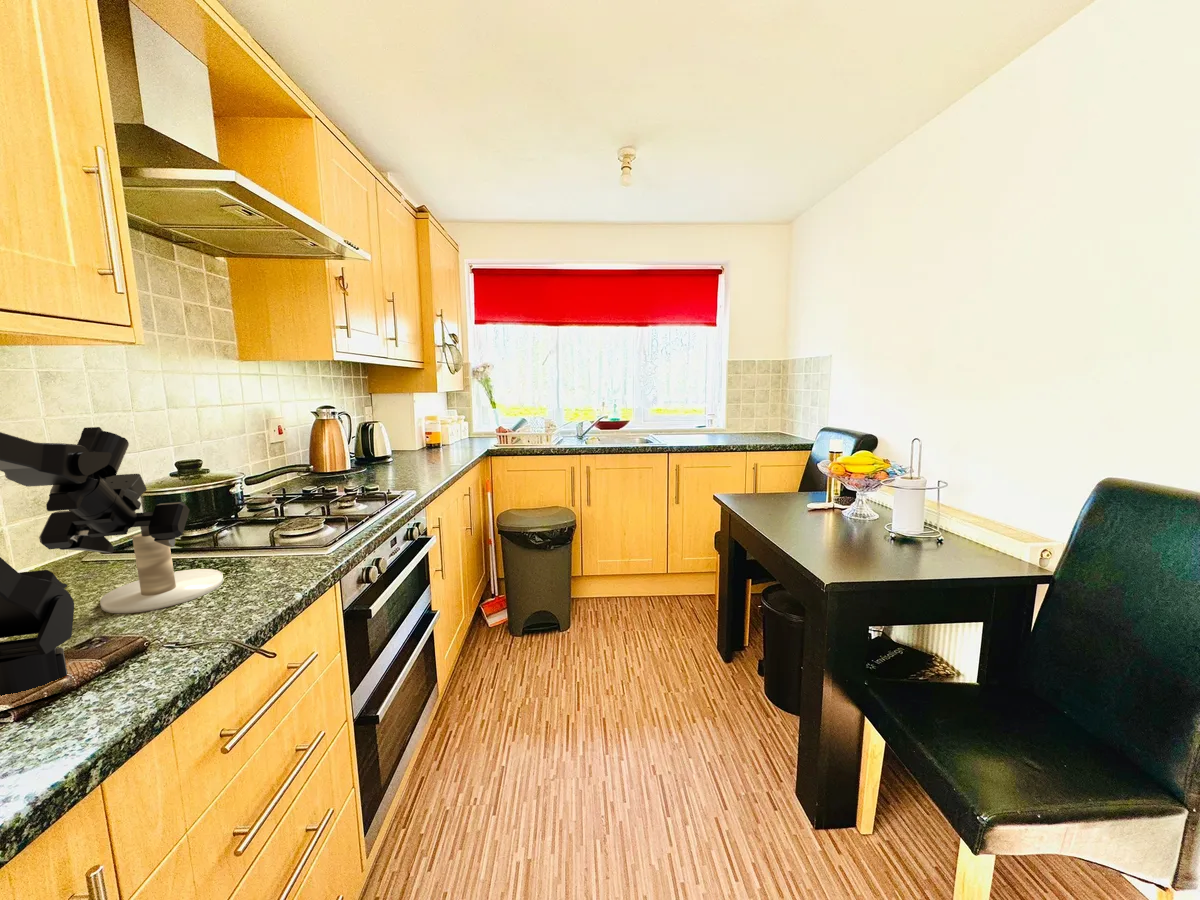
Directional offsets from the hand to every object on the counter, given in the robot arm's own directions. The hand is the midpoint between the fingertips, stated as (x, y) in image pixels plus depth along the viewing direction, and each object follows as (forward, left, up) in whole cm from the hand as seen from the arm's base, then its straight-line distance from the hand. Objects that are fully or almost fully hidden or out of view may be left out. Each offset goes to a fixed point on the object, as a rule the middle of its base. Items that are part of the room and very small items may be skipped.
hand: (143, 547), depth 92 cm
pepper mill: (+1, +2, -9) cm, 10 cm away
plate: (+2, +4, -11) cm, 12 cm away
